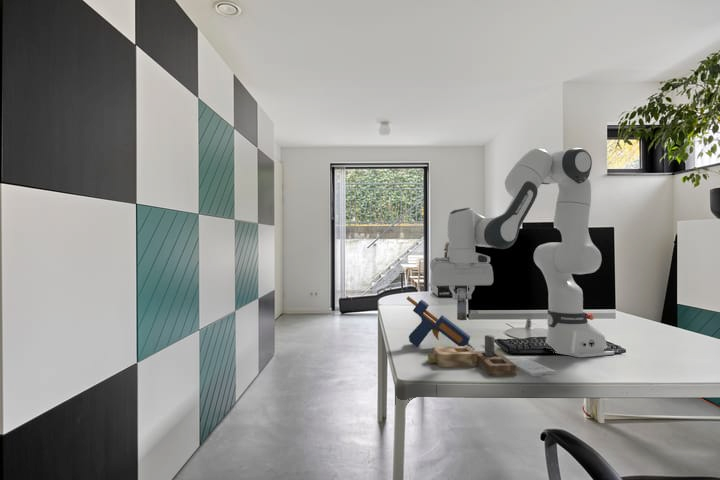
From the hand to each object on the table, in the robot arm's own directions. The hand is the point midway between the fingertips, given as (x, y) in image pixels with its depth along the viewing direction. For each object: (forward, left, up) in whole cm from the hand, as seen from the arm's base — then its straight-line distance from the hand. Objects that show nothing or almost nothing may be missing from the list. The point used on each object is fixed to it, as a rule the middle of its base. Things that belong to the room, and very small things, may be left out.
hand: (461, 299), depth 134 cm
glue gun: (+3, -18, -21) cm, 28 cm away
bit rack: (-8, +6, -21) cm, 23 cm away
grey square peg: (0, 0, -7) cm, 7 cm away
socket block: (+3, 0, -21) cm, 21 cm away
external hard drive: (-19, +8, -22) cm, 30 cm away
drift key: (+7, 0, -21) cm, 22 cm away
